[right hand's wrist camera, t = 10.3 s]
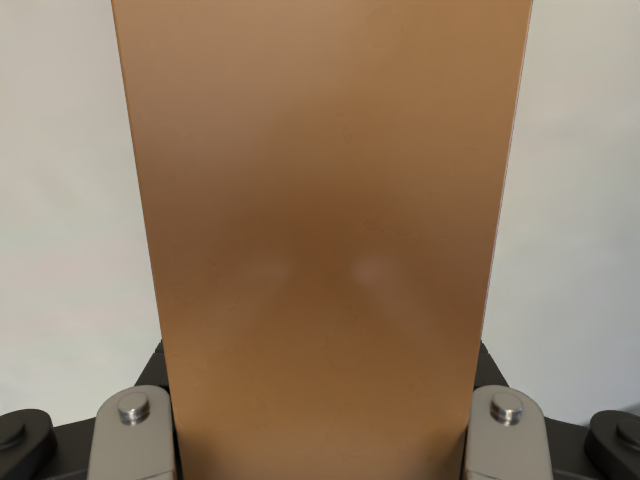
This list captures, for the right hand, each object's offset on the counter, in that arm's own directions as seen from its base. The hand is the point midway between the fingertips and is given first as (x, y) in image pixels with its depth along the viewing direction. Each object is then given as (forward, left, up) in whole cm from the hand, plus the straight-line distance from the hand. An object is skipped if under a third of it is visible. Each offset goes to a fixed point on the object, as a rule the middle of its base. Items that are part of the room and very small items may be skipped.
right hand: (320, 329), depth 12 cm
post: (-28, -6, -3) cm, 28 cm away
